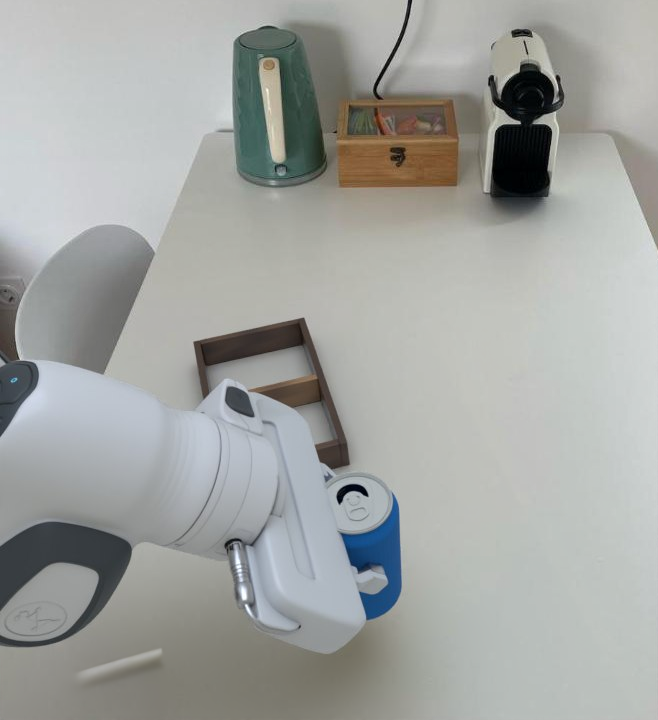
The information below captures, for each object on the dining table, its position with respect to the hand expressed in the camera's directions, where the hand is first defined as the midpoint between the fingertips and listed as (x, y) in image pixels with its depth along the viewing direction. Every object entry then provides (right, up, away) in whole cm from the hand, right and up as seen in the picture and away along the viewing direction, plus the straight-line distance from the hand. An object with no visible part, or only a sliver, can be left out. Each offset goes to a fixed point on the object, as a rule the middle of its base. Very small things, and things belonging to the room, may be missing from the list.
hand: (366, 538), depth 63 cm
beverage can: (-1, -5, +5) cm, 7 cm away
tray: (-13, +8, +30) cm, 34 cm away
